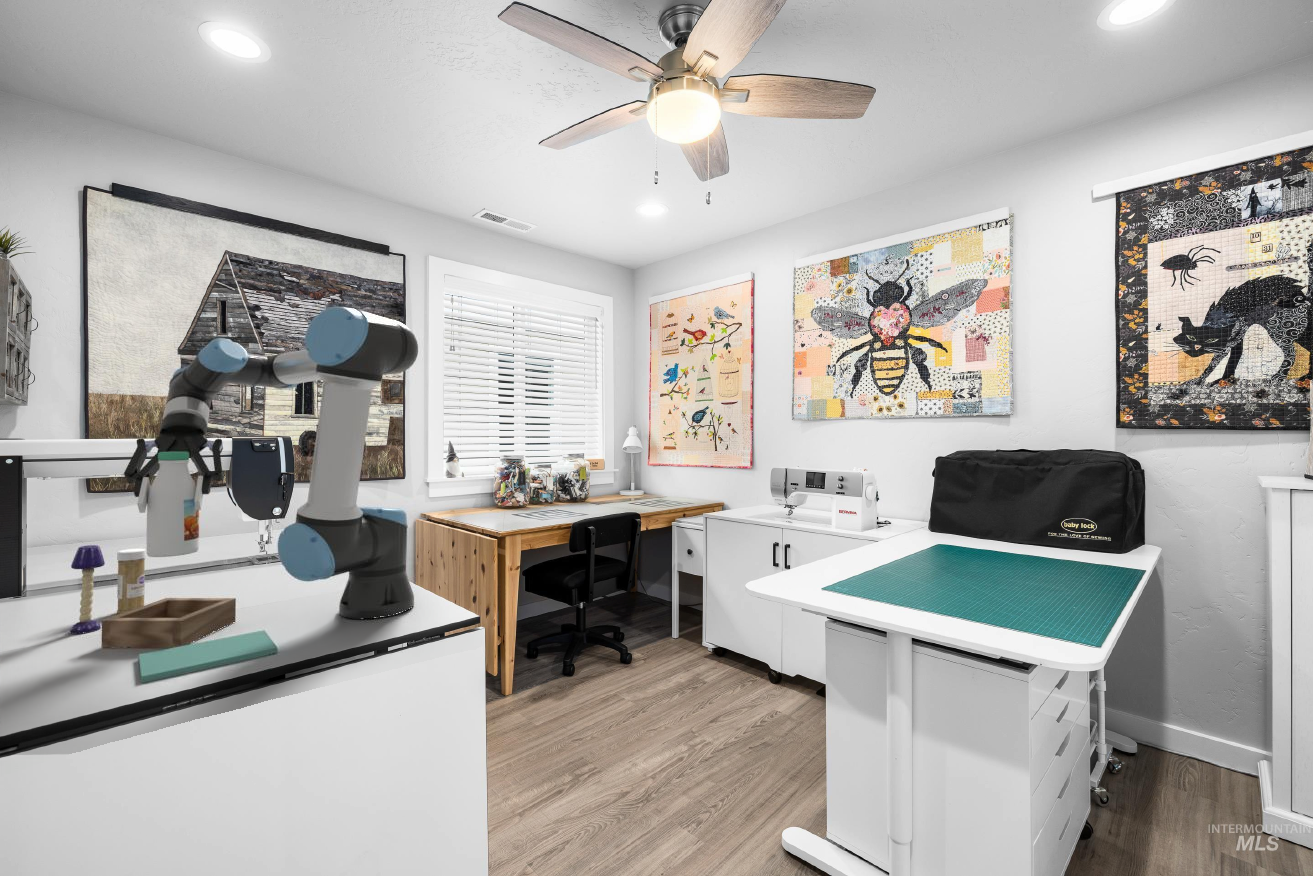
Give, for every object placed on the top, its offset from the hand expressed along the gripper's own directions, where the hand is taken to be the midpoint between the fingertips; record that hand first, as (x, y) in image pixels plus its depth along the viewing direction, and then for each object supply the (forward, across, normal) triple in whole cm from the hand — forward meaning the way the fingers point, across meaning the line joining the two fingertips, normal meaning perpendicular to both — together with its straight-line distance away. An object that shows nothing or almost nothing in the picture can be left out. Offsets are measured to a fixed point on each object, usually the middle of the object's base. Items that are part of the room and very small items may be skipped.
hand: (170, 506), depth 106 cm
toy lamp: (+8, +15, -28) cm, 32 cm away
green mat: (+28, -8, -8) cm, 30 cm away
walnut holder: (+15, 0, -20) cm, 26 cm away
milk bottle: (+5, 0, -9) cm, 10 cm away
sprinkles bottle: (0, +10, -36) cm, 37 cm away
